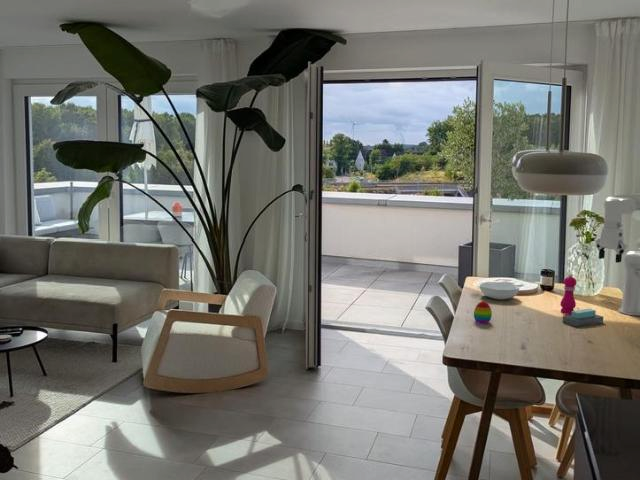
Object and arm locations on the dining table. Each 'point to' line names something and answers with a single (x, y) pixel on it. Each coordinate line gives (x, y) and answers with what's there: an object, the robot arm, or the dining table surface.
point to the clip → (583, 313)
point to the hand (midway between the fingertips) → (609, 260)
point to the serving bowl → (499, 290)
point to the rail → (582, 320)
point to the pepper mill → (568, 295)
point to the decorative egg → (482, 312)
